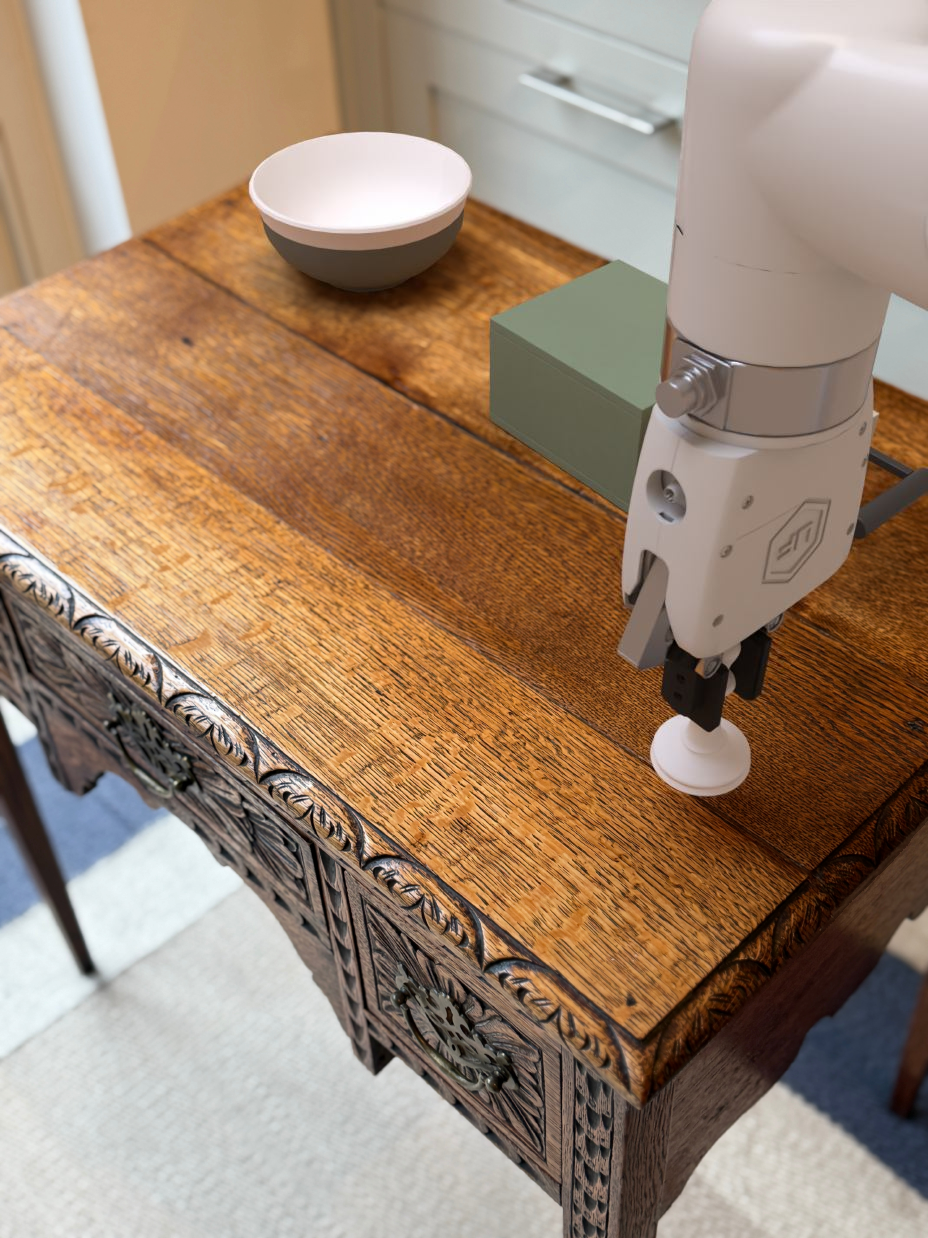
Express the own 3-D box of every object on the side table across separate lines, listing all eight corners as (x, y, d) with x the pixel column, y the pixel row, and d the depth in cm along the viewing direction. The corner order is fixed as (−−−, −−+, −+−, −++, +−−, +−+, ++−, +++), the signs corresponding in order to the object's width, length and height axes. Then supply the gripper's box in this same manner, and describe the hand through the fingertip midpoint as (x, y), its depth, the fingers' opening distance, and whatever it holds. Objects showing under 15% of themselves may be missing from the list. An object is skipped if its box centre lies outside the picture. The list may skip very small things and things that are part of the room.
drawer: (932, 541, 76) (962, 456, 71) (820, 623, 71) (844, 537, 66) (704, 409, 87) (717, 327, 82) (593, 472, 82) (600, 388, 77)
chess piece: (638, 780, 58) (654, 635, 51) (664, 709, 61) (683, 564, 54) (738, 808, 56) (768, 664, 50) (759, 735, 60) (791, 589, 53)
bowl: (223, 256, 106) (208, 166, 100) (398, 199, 113) (393, 113, 107) (331, 347, 95) (321, 252, 89) (516, 278, 102) (518, 186, 97)
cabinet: (753, 442, 85) (773, 338, 79) (630, 516, 80) (642, 409, 73) (609, 359, 93) (618, 258, 87) (489, 420, 88) (489, 317, 81)
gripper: (694, 496, 37) (650, 839, 50) (982, 318, 44) (879, 659, 57) (534, 399, 42) (531, 738, 54) (820, 250, 49) (758, 582, 61)
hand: (710, 695), depth 56 cm, fingers closed on chess piece
